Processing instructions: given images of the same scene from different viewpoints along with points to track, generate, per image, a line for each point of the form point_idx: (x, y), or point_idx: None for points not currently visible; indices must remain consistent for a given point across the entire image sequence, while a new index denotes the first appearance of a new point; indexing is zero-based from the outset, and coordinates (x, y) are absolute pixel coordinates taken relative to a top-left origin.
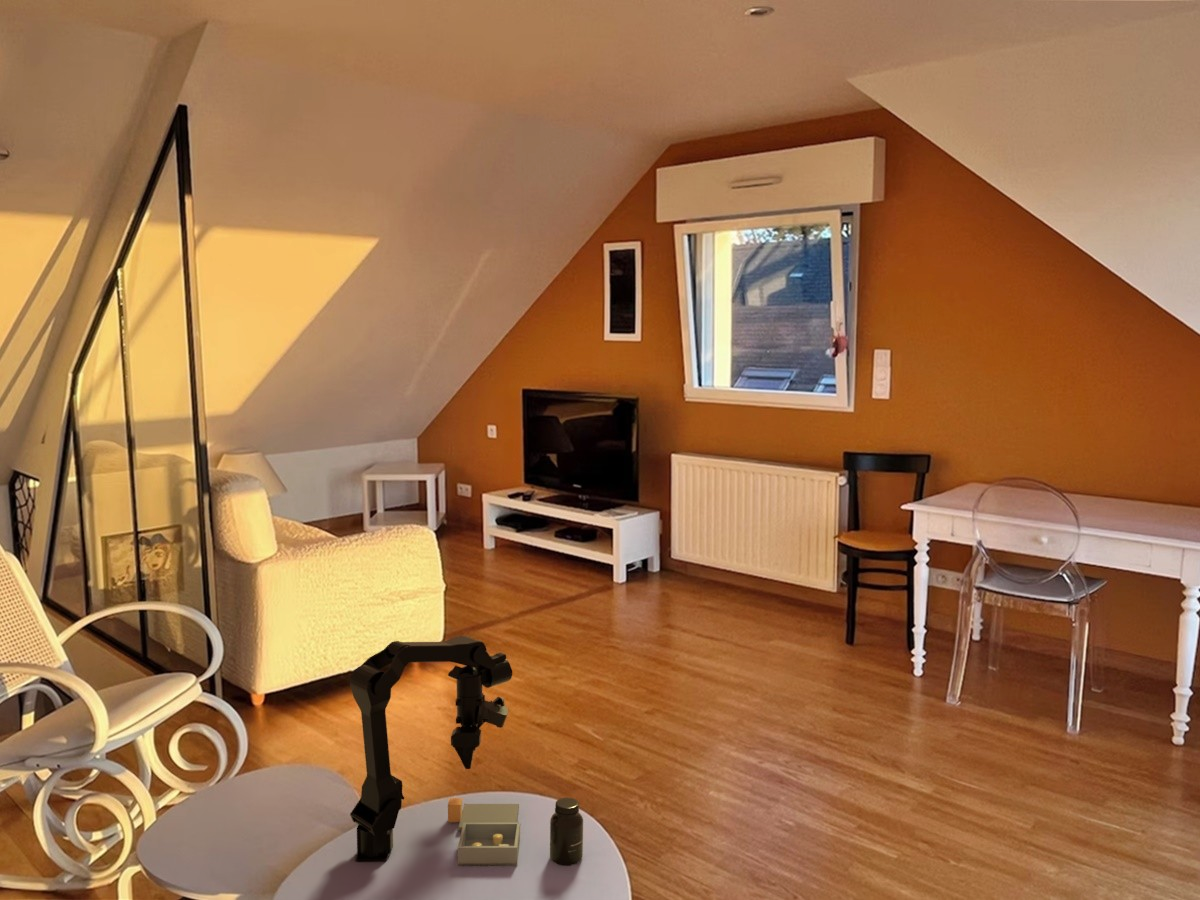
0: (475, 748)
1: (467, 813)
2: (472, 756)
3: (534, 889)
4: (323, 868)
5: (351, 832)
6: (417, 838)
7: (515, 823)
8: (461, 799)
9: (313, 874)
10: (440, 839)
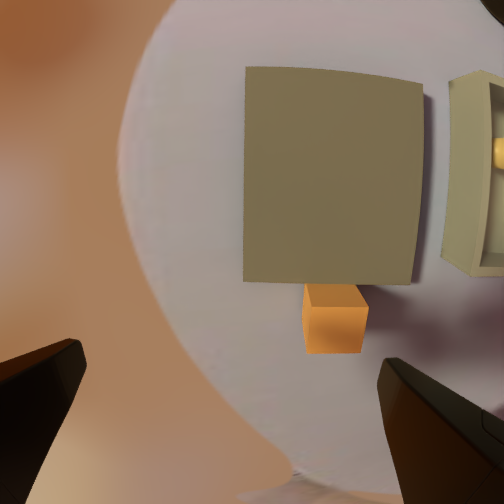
0: (67, 343)
1: (320, 264)
2: (479, 410)
3: None
4: None
5: (338, 482)
6: None
7: (486, 86)
8: (323, 308)
9: None
10: (421, 322)
